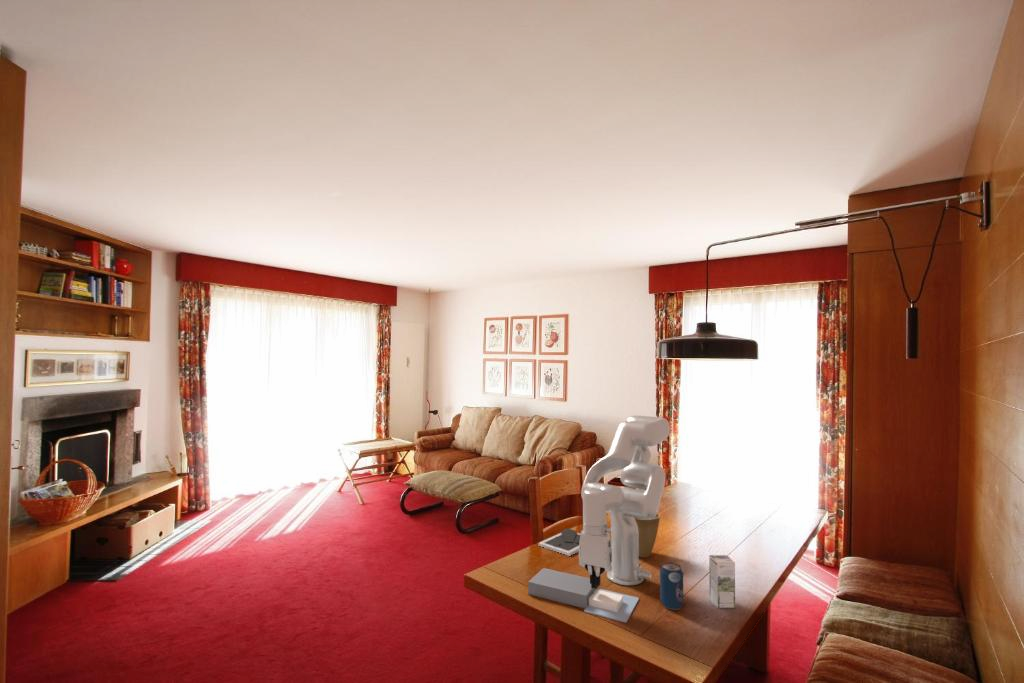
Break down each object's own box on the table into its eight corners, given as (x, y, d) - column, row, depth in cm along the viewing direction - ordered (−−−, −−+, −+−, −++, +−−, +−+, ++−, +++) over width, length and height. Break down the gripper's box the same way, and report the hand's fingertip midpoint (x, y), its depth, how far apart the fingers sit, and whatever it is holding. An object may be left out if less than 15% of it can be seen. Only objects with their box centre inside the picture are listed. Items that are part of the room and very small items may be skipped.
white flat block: (623, 602, 150) (623, 595, 150) (617, 612, 144) (617, 605, 144) (595, 595, 154) (595, 589, 155) (588, 605, 148) (588, 598, 148)
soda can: (683, 612, 145) (682, 572, 145) (659, 608, 147) (658, 568, 148) (683, 602, 151) (683, 563, 152) (661, 598, 154) (660, 560, 154)
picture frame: (567, 534, 213) (538, 548, 197) (567, 528, 213) (538, 541, 197) (597, 543, 202) (569, 558, 187) (597, 536, 202) (569, 551, 187)
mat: (639, 599, 153) (639, 597, 153) (626, 622, 139) (626, 621, 139) (600, 590, 159) (600, 588, 159) (583, 611, 145) (583, 610, 145)
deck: (598, 592, 157) (598, 580, 158) (586, 608, 147) (586, 595, 147) (543, 579, 167) (543, 567, 167) (528, 594, 156) (528, 581, 156)
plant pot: (657, 564, 179) (657, 521, 180) (618, 557, 186) (617, 516, 186) (662, 550, 193) (662, 510, 194) (625, 544, 199) (625, 506, 200)
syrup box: (726, 599, 153) (725, 553, 153) (736, 609, 147) (735, 561, 147) (709, 600, 152) (708, 554, 153) (718, 609, 146) (717, 561, 147)
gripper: (620, 528, 152) (621, 587, 152) (577, 521, 160) (577, 577, 159) (614, 536, 146) (614, 597, 145) (568, 528, 153) (569, 586, 152)
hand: (595, 586), depth 152 cm, fingers closed
